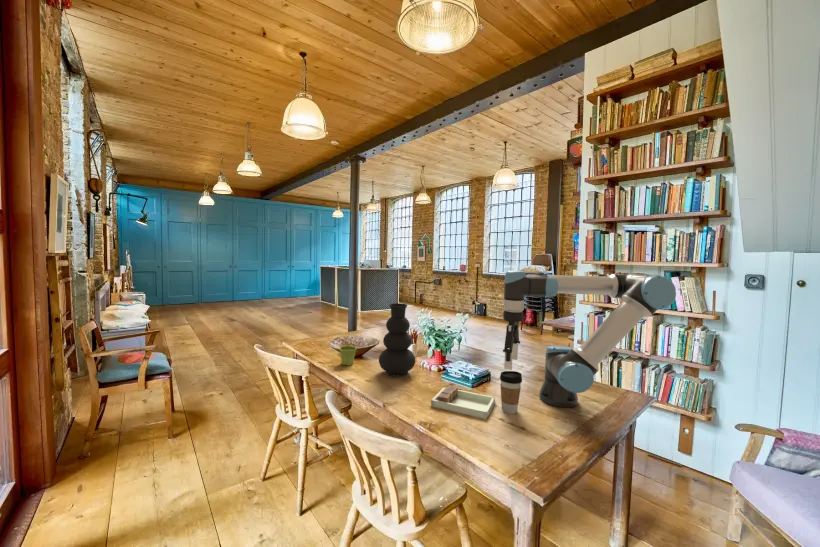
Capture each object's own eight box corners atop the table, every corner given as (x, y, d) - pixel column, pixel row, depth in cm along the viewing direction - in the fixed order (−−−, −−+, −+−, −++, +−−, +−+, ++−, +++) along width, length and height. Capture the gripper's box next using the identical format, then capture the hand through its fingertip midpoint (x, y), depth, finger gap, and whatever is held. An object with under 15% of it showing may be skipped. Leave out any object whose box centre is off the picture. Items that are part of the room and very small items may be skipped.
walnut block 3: (457, 396, 147) (457, 387, 147) (454, 400, 144) (454, 390, 143) (448, 394, 149) (448, 385, 149) (445, 398, 145) (445, 388, 145)
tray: (494, 405, 142) (495, 397, 141) (486, 421, 128) (486, 412, 128) (443, 394, 151) (444, 386, 151) (431, 408, 137) (431, 400, 137)
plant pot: (350, 360, 195) (351, 344, 195) (359, 364, 188) (359, 348, 187) (335, 363, 189) (335, 347, 189) (344, 367, 182) (344, 351, 181)
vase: (402, 382, 163) (404, 309, 161) (371, 375, 172) (372, 305, 170) (421, 371, 179) (423, 304, 177) (391, 365, 188) (392, 300, 186)
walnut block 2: (453, 399, 144) (453, 390, 143) (450, 403, 140) (450, 393, 140) (444, 397, 145) (444, 388, 145) (441, 401, 142) (441, 392, 141)
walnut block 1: (449, 404, 140) (450, 394, 139) (447, 408, 136) (447, 398, 136) (440, 402, 141) (440, 392, 141) (437, 406, 137) (437, 396, 137)
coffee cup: (521, 416, 133) (523, 378, 132) (498, 413, 134) (500, 375, 133) (519, 406, 141) (521, 370, 140) (497, 404, 143) (499, 368, 142)
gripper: (509, 305, 148) (507, 354, 149) (497, 314, 126) (494, 372, 127) (527, 306, 145) (525, 356, 146) (518, 316, 122) (516, 375, 124)
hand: (511, 364), depth 137 cm, fingers open, 13 cm apart
